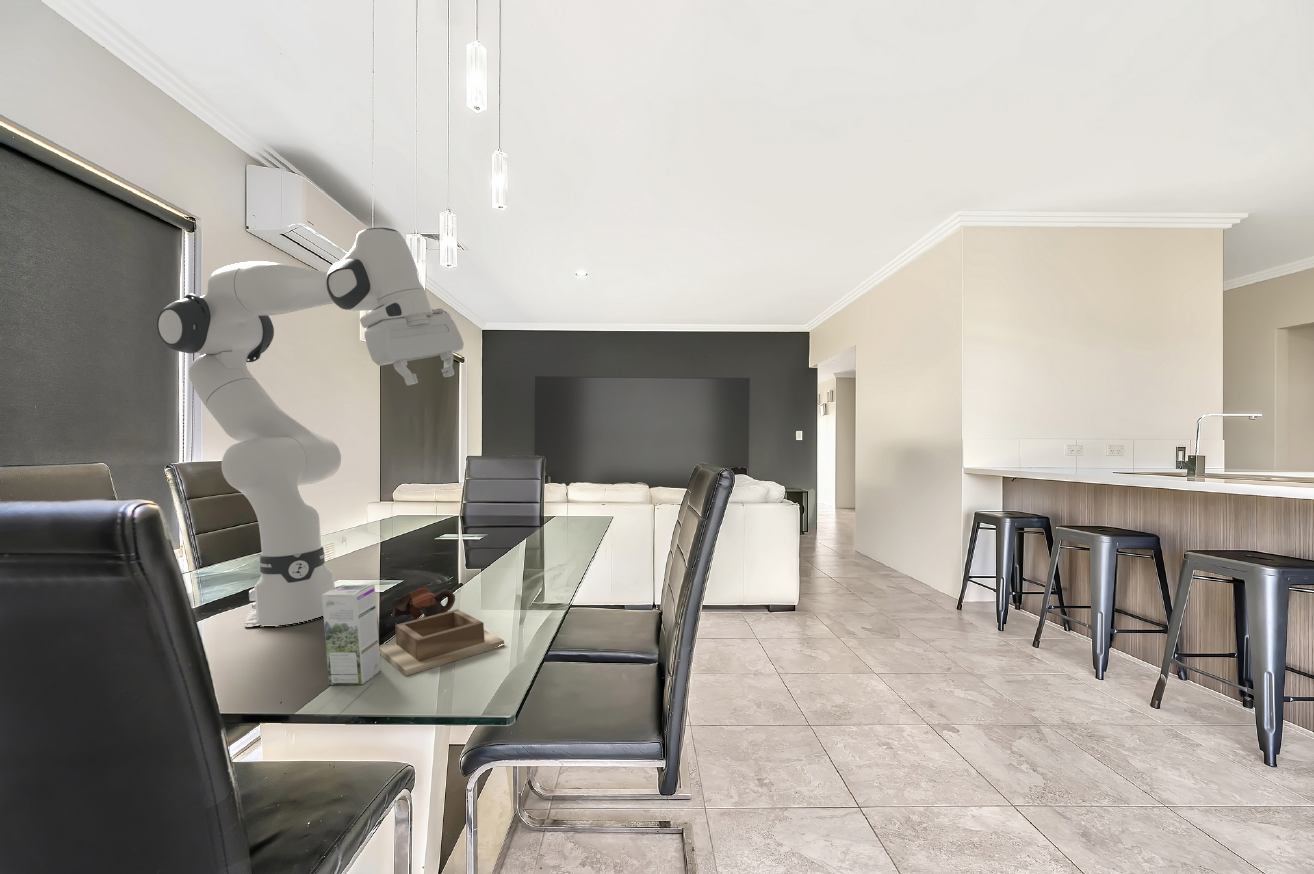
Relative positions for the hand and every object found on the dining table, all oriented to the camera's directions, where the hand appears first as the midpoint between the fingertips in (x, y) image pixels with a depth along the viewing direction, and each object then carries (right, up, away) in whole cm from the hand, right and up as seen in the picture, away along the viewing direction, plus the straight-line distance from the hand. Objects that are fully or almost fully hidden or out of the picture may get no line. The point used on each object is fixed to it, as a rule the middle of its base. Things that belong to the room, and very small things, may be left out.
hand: (431, 380), depth 119 cm
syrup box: (-4, -50, -22) cm, 54 cm away
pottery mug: (-3, -49, +4) cm, 49 cm away
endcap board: (+6, -49, -11) cm, 50 cm away
